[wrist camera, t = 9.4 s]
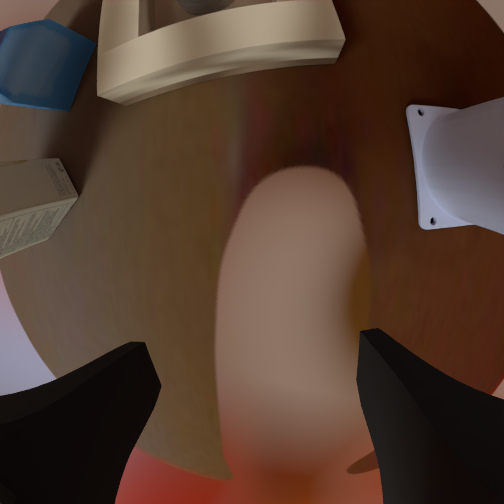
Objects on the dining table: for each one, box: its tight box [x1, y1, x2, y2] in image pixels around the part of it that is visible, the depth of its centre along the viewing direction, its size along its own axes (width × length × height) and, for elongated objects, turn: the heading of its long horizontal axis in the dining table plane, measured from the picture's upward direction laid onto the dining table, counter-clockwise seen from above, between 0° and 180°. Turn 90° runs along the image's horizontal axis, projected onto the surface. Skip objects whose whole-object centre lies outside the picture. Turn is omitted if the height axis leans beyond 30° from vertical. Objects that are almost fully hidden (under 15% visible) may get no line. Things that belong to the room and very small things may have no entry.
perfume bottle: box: [0, 19, 96, 112], centre depth 9 cm, size 6×6×12 cm
